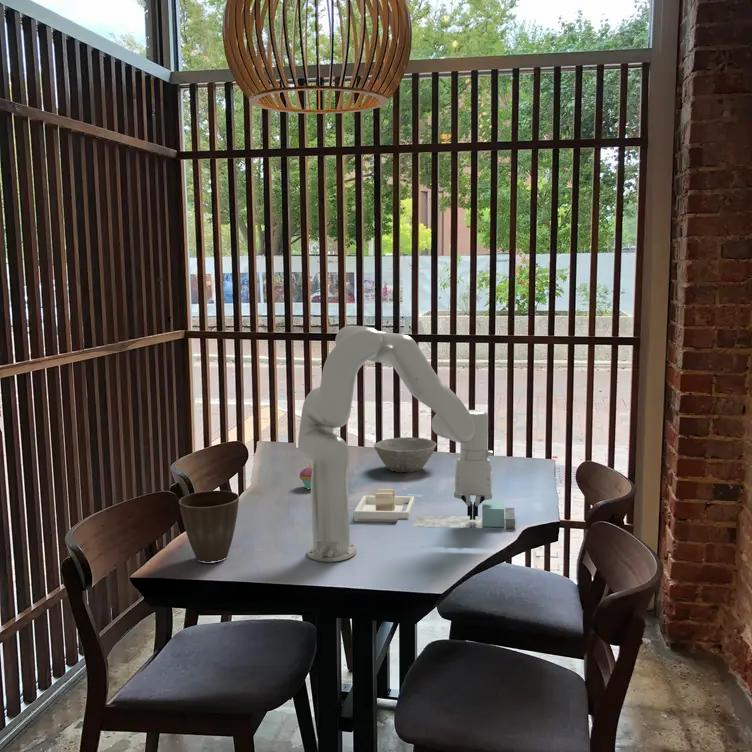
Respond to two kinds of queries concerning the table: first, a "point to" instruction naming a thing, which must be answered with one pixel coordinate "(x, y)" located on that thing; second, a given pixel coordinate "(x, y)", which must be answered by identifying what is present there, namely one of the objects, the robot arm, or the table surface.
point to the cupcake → (306, 476)
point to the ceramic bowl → (405, 453)
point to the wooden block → (385, 500)
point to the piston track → (463, 521)
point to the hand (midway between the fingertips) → (472, 518)
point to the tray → (369, 513)
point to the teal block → (493, 513)
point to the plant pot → (210, 522)
